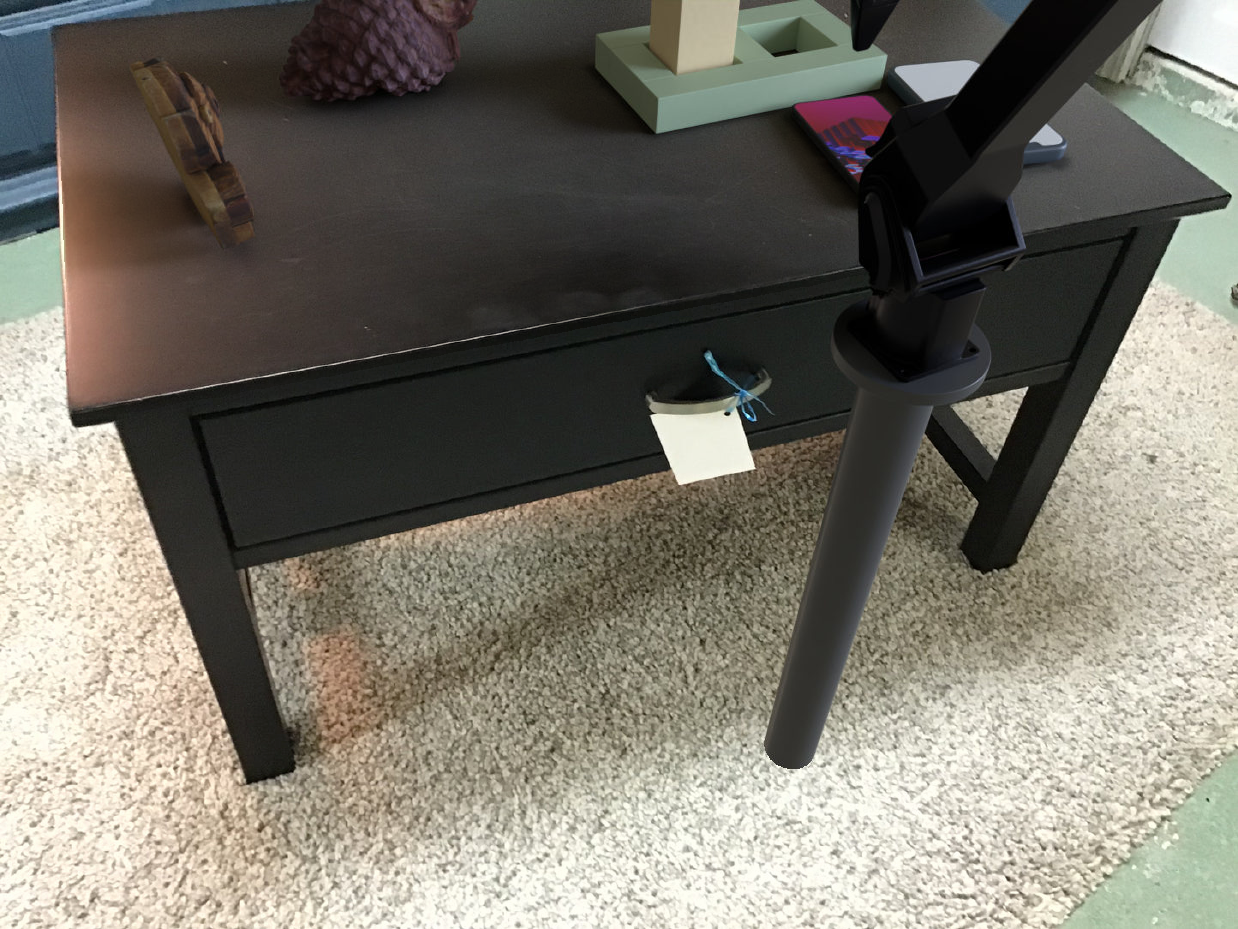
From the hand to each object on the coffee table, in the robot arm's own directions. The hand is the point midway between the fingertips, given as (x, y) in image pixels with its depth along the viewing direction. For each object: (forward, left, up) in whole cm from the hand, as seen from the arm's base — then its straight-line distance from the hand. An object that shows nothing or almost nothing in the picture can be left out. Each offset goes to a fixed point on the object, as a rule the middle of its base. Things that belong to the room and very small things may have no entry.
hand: (819, 18), depth 68 cm
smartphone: (+2, -9, -13) cm, 16 cm away
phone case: (+3, -20, -13) cm, 24 cm away
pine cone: (+27, +22, -13) cm, 38 cm away
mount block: (+17, -6, -13) cm, 23 cm away
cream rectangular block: (+18, -1, -13) cm, 22 cm away
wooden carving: (+15, +39, -13) cm, 44 cm away
